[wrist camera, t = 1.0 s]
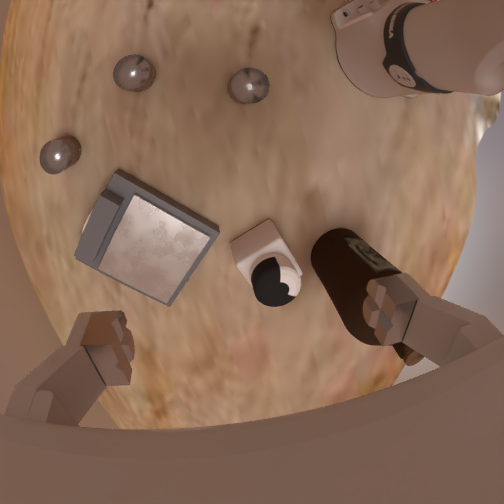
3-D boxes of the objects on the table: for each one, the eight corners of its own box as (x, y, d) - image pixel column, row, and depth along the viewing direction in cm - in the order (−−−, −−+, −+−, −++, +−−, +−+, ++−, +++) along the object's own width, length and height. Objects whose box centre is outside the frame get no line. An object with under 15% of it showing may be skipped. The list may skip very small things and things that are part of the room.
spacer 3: (240, 66, 34) (246, 60, 30) (267, 84, 36) (276, 82, 32) (221, 91, 35) (224, 89, 31) (248, 109, 37) (254, 110, 33)
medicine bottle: (252, 274, 49) (268, 322, 39) (229, 242, 46) (239, 286, 35) (290, 251, 48) (315, 294, 38) (269, 217, 45) (292, 254, 35)
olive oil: (342, 286, 54) (411, 388, 32) (295, 269, 50) (359, 385, 28) (373, 237, 50) (464, 327, 28) (327, 214, 46) (423, 310, 25)
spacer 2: (135, 55, 31) (127, 48, 26) (162, 69, 33) (157, 64, 28) (116, 82, 32) (106, 80, 28) (143, 97, 34) (135, 95, 29)
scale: (115, 167, 37) (104, 176, 33) (218, 226, 44) (221, 242, 40) (78, 249, 42) (66, 267, 37) (170, 297, 49) (168, 318, 44)
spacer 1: (62, 130, 33) (47, 134, 29) (86, 144, 35) (72, 149, 31) (50, 158, 35) (35, 165, 30) (73, 171, 36) (59, 180, 32)
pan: (135, 193, 37) (134, 194, 37) (210, 235, 42) (210, 237, 41) (99, 266, 41) (98, 268, 40) (167, 300, 46) (166, 303, 45)
